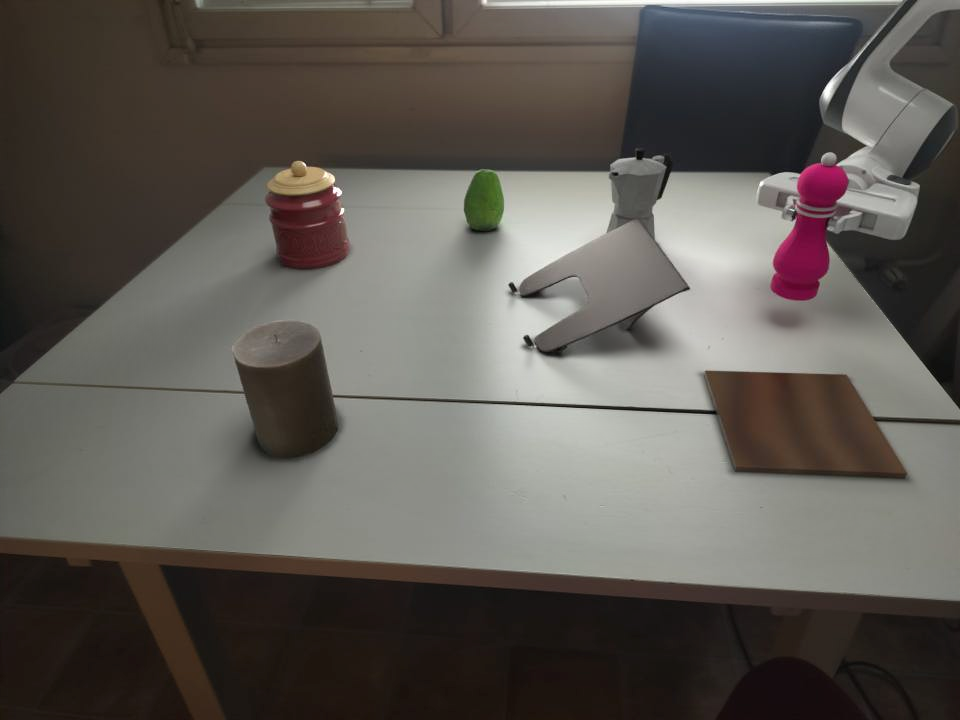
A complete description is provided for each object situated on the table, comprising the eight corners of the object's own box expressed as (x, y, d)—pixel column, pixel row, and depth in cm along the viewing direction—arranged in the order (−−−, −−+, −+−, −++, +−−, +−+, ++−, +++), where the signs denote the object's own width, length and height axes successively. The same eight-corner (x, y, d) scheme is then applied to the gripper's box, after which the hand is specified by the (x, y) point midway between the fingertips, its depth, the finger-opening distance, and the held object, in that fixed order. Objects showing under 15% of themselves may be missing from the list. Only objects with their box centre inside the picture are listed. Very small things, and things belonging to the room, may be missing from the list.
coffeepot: (622, 266, 116) (633, 164, 105) (584, 247, 122) (592, 149, 112) (681, 242, 123) (697, 144, 113) (643, 225, 129) (654, 132, 119)
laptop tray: (528, 314, 115) (504, 273, 109) (652, 252, 110) (634, 206, 105) (554, 397, 96) (526, 352, 91) (705, 326, 91) (685, 274, 86)
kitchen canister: (300, 238, 128) (282, 146, 118) (362, 245, 125) (349, 151, 115) (265, 269, 118) (242, 171, 108) (331, 277, 115) (314, 177, 105)
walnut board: (843, 383, 87) (846, 374, 86) (902, 483, 73) (907, 473, 72) (703, 379, 89) (704, 370, 88) (733, 476, 74) (736, 466, 73)
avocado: (511, 233, 128) (511, 172, 121) (473, 241, 126) (471, 179, 119) (494, 218, 134) (493, 159, 127) (458, 225, 132) (455, 165, 125)
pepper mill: (822, 306, 92) (865, 164, 81) (766, 299, 95) (801, 159, 83) (818, 282, 98) (858, 146, 87) (766, 275, 100) (798, 142, 89)
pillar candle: (346, 449, 79) (326, 345, 71) (262, 471, 77) (231, 365, 68) (331, 402, 87) (312, 302, 78) (254, 420, 84) (225, 319, 75)
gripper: (784, 155, 102) (741, 180, 94) (933, 187, 90) (898, 218, 82) (775, 195, 105) (733, 222, 97) (917, 230, 93) (882, 264, 85)
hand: (810, 221), depth 89 cm, fingers closed on pepper mill, 5 cm apart
